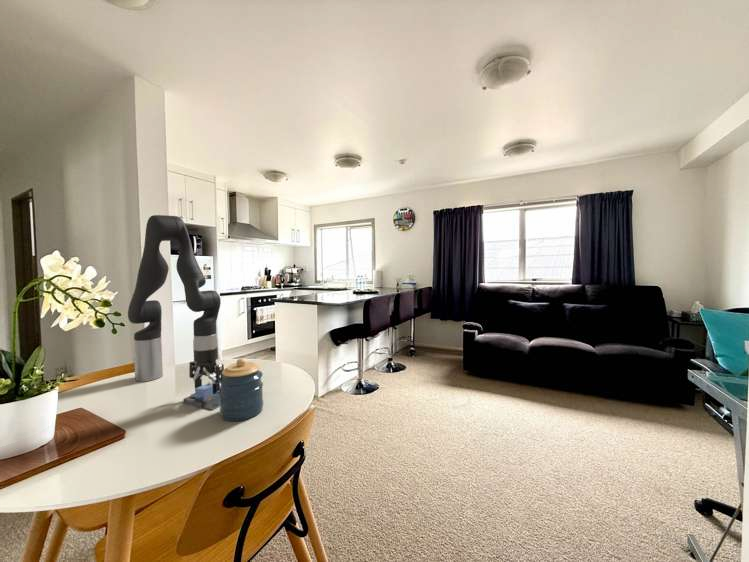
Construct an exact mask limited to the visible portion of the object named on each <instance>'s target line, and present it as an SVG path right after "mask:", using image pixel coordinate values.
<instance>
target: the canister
mask: <svg viewBox="0 0 749 562" xmlns="http://www.w3.org/2000/svg"><path fill="white" fill-rule="evenodd" d="M260 368H261V367H260V365H258V364H257V363H254V362H252V361H246V360H245V359H244V358H238V359H237V360H236V362H235V363H232V364H230V365H228V366H227V367H226V368H225V367H224V370H223V371H222V374H223V376H222V377H221V376H220V379H219V382H220V386H221V388H220V390H219V392H220V407H219V414H220V416H221V418H222V419H223V420H225V421H229V422H241V421H245V420H248V419H251V418H254V417H256V416H257V415H259V414H260V413H261V412H262V411H263V409H264V408H263V407H264V399H263V398H264V397H263V385H264V383H263V381H262V377H263V372H262V371H260Z"/></svg>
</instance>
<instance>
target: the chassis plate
mask: <svg viewBox="0 0 749 562" xmlns="http://www.w3.org/2000/svg"><path fill="white" fill-rule="evenodd" d="M183 405H187V406H192V407H197V408H200V409H206V410H210V411H214V410H216V409H218V408H220V407H221V406H220V392H219V393H218V395H216V396H214V397H210V398H208V399H205V401H200V400H196V399H195V397H191V395H189V396H186V397H185V398H183Z"/></svg>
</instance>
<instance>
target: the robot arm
mask: <svg viewBox="0 0 749 562" xmlns="http://www.w3.org/2000/svg"><path fill="white" fill-rule="evenodd" d="M147 219H148V220H147V221H146V226H145V235H144V237H145V238H144V245H143V252H142V256H141V260H140V263H139V264H140V265H139V267H138V272H137V276H136V277H137V278H136V283H135V287H134V288H135V289H134V292H133V294H132V297H131V300H130V302H129V305H128V310H127V319H128V321H129V322H130V323H131V324H133V325H134V324H135V325H138V324H145V323H147V324H148V325H147V326H145V327H144V328H142V329H140V330H138V331H136V332H135V333H134V335H133V339H134V340H133V342H134V357H133V359H134V360H133V362H134V378H135V380H136V381H137V382H140V383H141V382H149V381H153V380H158V379H160V378H162V377H163V376H164V374H163V373H164V372H163V371H164V368H163V350H162V349H163V347H162V305H161V303H160V302H159V300H155V299H154V300H152V299H151V300H148V299H149V298H150V297H151V296H152V295H153V294H155V293H156V292H157V291H158V290H160V289H161V287H163V286H164V284H165V283H166V280H167V277H168V275H169V269H170V268H169V264H168V263H167V260H166V259H165V258H164V256H163V255H162V253H161V251H160V245H161V243H162V242H167V241H168V242H169V241H170V242H173V241H175V242H176V243H177V244H178V247H179V253H178V256H177V260H176V271H177V274H178V276H179V278H180V280H181V283H182V285H183V289H184V295H185V303H186V307H188V309H189V310H190V311H192V312H194V313H200V312H203V313H202V315H201V316H200V317H198V318H196V319H194V320H193V341H192V342H193V344H192V345H193V347H192V348H193V361H190V362H189V373H188V374H189V379H193V381H194V389H195V388H197V387H200V386H202V385H203V384H202V383H203V379H202V377H203V376H205V377H208V379H209V380H210V381H212V382H213V384H212V386H213V394H217V393H219V390H220V386H221V383H220V382H219V379H220V377H222V376H223V374H222V371H223V370H224V369H225V366H224V363H221V364H217V359H218V358H219V349H218V348H219V347H218V345H219V344H218V336H217V320H218V316H219V312H220V308H221V304H222V303H221V297H220V294H219V293H218V292H217V291H215V290H211V289H210V290H200V288H202V287H204V286H205V285H206V277H205V275H204V274H203V270H202V269H201V267H200V265H199V263H198V261H197V258H196V256H195V253H194V249H193V246H192V241H191V238H190V235H189V231H188V229H187V226H186V224H185V222H184V220H183V219H182V218H181V217H180V216H177V215H165V214H164V215H161V214H153V215H151V216H149V218H147Z"/></svg>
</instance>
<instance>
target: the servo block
mask: <svg viewBox="0 0 749 562" xmlns="http://www.w3.org/2000/svg"><path fill="white" fill-rule="evenodd" d="M212 384H213V382H212V381H211V380H210V381H208V382H207V383H205V384H202V386H200V387H197V388H195V387H194V393H191V394H190V396H191V397H195V399H196V400H200V401H205V399H208V398H210V397H214V396H216V395H218V393H217V394H213V386H212ZM220 388H221V385H220Z"/></svg>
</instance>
